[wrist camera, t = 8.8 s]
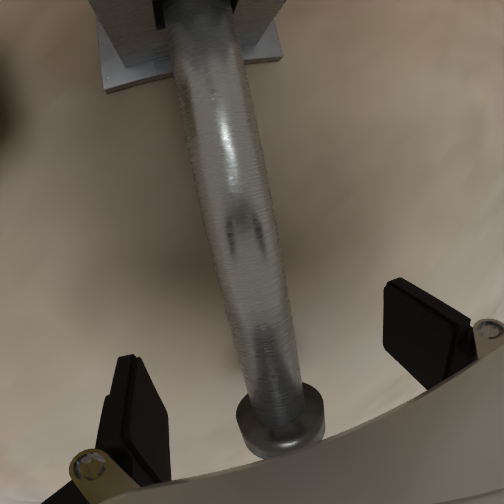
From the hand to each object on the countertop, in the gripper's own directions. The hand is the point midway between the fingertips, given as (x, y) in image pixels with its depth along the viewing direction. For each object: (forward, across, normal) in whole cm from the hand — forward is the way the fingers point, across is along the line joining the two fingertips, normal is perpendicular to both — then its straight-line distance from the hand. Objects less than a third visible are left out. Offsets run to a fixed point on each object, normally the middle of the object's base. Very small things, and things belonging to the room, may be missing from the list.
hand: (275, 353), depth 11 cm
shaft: (+6, 0, -6) cm, 8 cm away
